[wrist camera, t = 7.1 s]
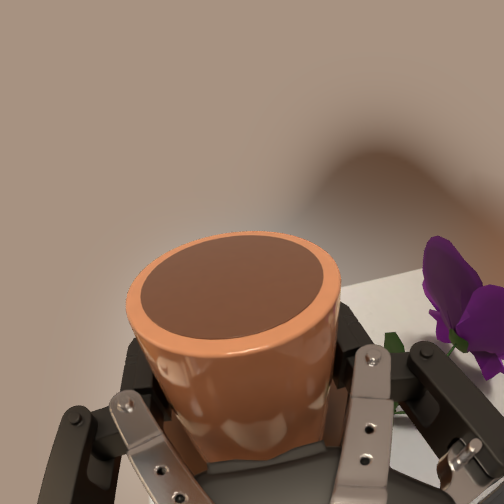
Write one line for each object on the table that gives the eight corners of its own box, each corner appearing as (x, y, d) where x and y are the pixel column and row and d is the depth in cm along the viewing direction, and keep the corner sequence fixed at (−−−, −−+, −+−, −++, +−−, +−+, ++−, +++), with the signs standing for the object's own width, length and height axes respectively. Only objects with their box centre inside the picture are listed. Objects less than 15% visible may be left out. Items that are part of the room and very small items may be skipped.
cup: (277, 507, 9) (256, 402, 5) (169, 439, 12) (89, 297, 8) (345, 406, 13) (369, 248, 9) (245, 364, 17) (219, 220, 13)
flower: (434, 468, 20) (518, 374, 20) (431, 460, 12) (552, 302, 12) (361, 385, 32) (437, 310, 32) (314, 329, 24) (421, 226, 24)
